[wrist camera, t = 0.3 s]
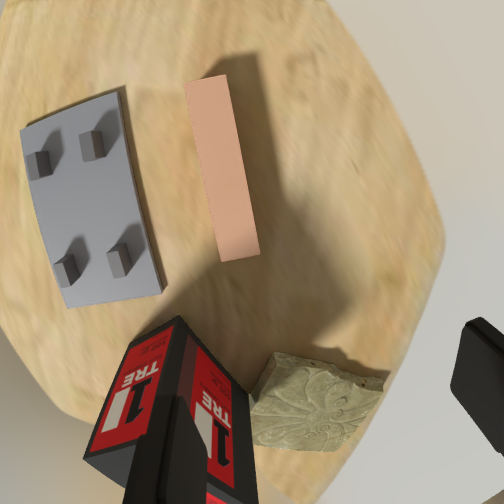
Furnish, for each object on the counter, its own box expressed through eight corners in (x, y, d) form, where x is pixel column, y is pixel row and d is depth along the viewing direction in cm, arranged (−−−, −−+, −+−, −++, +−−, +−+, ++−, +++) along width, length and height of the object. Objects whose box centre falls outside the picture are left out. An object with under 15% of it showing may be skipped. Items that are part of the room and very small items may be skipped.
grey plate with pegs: (24, 130, 30) (5, 130, 26) (119, 92, 30) (106, 87, 26) (70, 305, 38) (57, 319, 34) (163, 290, 38) (156, 305, 34)
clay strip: (190, 92, 31) (183, 83, 26) (226, 84, 31) (225, 74, 26) (222, 247, 37) (221, 262, 32) (256, 240, 37) (260, 254, 32)
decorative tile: (332, 442, 50) (337, 456, 47) (229, 428, 47) (230, 444, 44) (387, 370, 45) (396, 383, 42) (273, 345, 42) (277, 360, 39)
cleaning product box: (129, 343, 40) (82, 459, 21) (179, 315, 39) (148, 440, 20) (200, 415, 45) (193, 525, 26) (248, 394, 44) (259, 512, 25)
